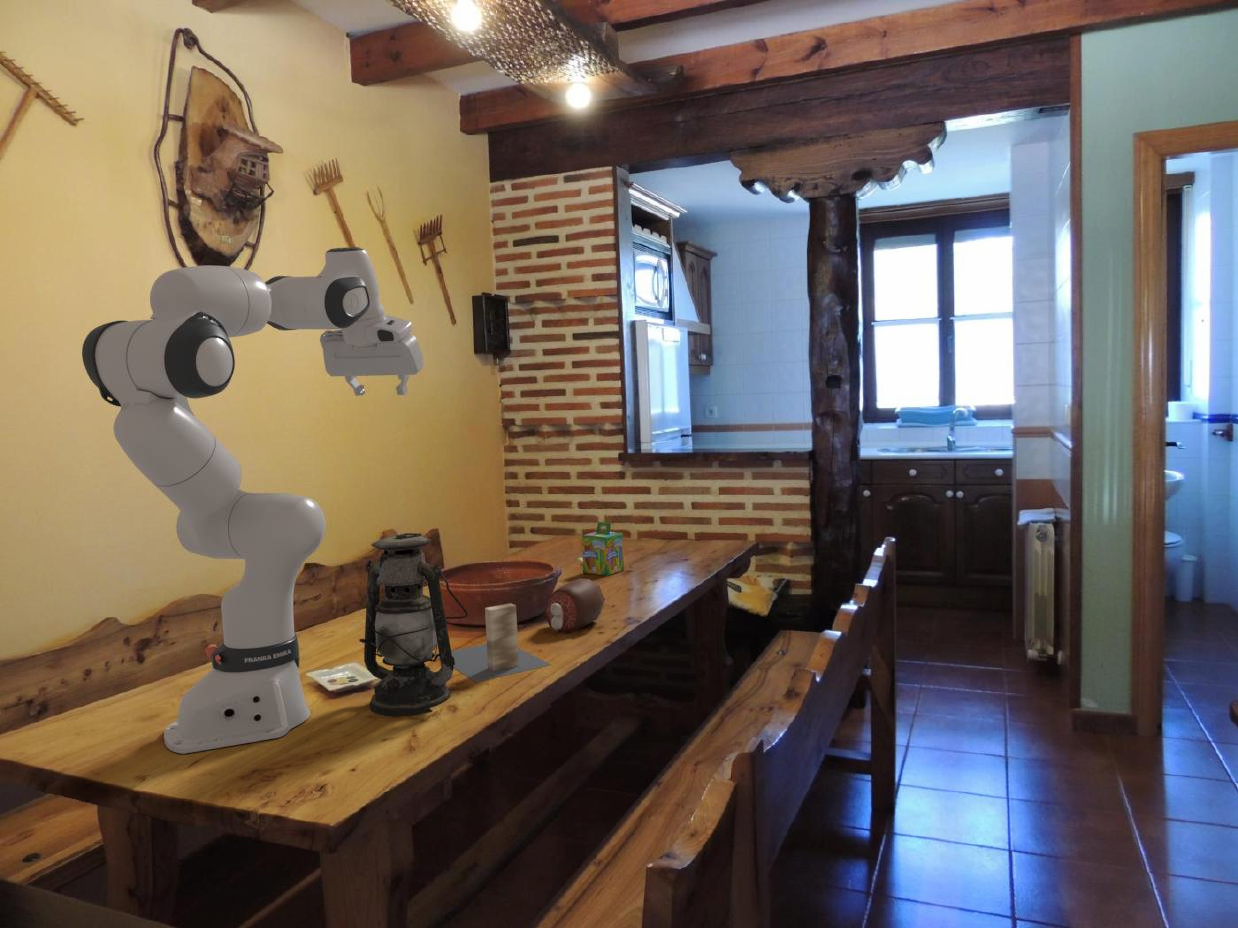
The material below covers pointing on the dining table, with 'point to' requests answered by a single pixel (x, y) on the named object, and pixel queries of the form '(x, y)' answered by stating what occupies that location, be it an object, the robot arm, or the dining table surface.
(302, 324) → the robot arm
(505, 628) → the wooden block
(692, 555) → the dining table surface
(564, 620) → the meat
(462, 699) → the dining table surface
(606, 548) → the chalk box
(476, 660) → the mat
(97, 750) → the dining table surface
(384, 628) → the lantern
